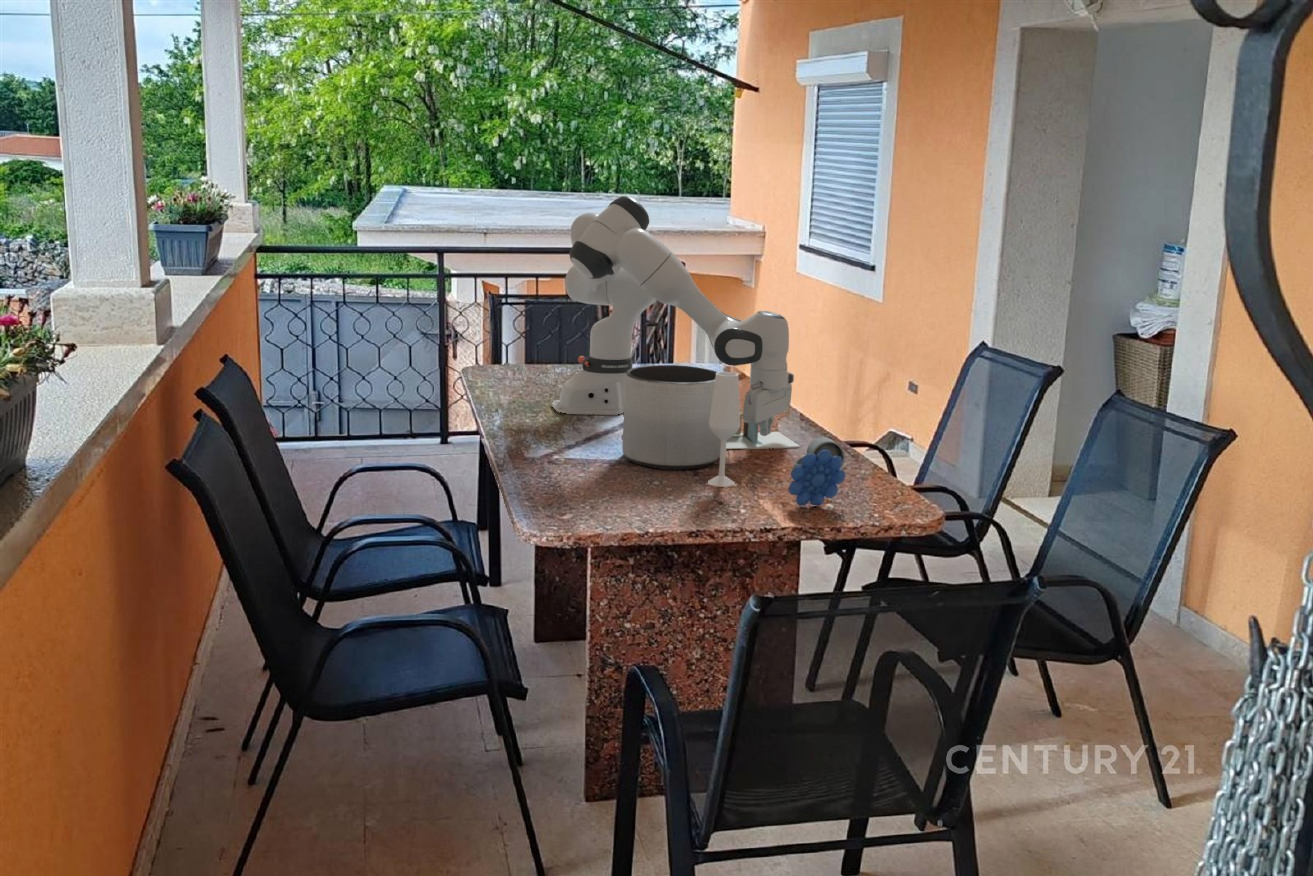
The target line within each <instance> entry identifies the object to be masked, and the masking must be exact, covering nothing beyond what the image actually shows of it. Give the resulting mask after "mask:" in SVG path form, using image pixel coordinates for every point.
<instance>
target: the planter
mask: <svg viewBox="0 0 1313 876" xmlns="http://www.w3.org/2000/svg"><path fill="white" fill-rule="evenodd" d="M718 372H719V371H715V370H713V369H709V368H704V367H697V366H690V365H673V364H671V365H670V364H664V365H663V364H658V365H657V364H655V365H644V366H636V367H632V369H629V370H628V371H626V380H625V404H624V413H623V424H622V425H623V426H622V446H621V447H622V453H623V455H624V456H625V458H627V459H628V460H629V461H631V462H632V463H634V464H637V465H640V466H642V467H643V466H644V467H648V468H652V467H655V468H654V469H660V468H661V469H663V470H693V469H694V470H695V469H699V468H704V467H707V466H709V465H712V464H713V463H716V461H718V460H719V459H720V447H721V440H720V439H719V438H717V436H716V435H715V434H714V433H713V432H712V431H711V429H710V427H709V418H710V411H711V404H712V397H713V390H714V383H715V376H716V373H718Z"/></svg>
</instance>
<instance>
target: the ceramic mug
mask: <svg viewBox="0 0 1313 876" xmlns="http://www.w3.org/2000/svg"><path fill="white" fill-rule="evenodd" d="M822 450H829V451H830V452H831V458H832V457H834V456H840V457H841V458H842V462H843V464H842V466H841V468H840V469H841V470H842V467H843V465H844V464H845V458H846V457H845V451H844V449H843V447H842V446H841V445H840V444H839V443H837V442H836V441H834V440H833V439H831V438H829V437H825V436H821V437H816V438H814V439H813V440H812V441H810V442H809V444H808V446H807V448H806V455H807V454H809V453H811V454H815V455H816V457H817V455H818V453H819V452H820V451H822ZM803 457H804V456H802V457H800V458H797V459H796V460H795V461H794V463H793V468H794V467H796V466H803V465H802V459H803Z"/></svg>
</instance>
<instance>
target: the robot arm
mask: <svg viewBox="0 0 1313 876" xmlns="http://www.w3.org/2000/svg"><path fill="white" fill-rule="evenodd" d="M649 217H650V216H649V214H648V211H647V210H646V209H645V207H644V206H643V205H642V203H640V202H639V201H638V200H636V199H635V198H633V197H631V196H628V195H626V196H625V195H621V196H618V197H617V198H615V200H613V201H611V202H610V203H609V204H608V206H607V207H606V208H605V209H604V210H603V211H602V212H600V213H599V214H597V213H595V212H586V213H583V214H581V215H578V216H577V217H576V218H575V219H574V221H573V222H572V224H571V227H570V240H571V249H570V250H569V255H568V256H569V259H570V262H571V263H572V266H571V267H570V268H569V270H568V271H567V272H566V275H565V279H564V287H565V291H566V293H567V295H568V296H569V298H570V299H571V300H572V301H576V302H578V303H581V304H582V303H583V304H587V305H597V306H610V307H612V309H611V310H612V311H611V314H610V315H609V316H606V317H604V318H602V319H600V320H598V321H596V322H595V323H593V325H592V327H591V329H590V333H589V334H590V335H589V355H588V356H587V357H585V356H584V355H580V356H579V357H578V358H577V360H578V363H579V364H581V366H582V367H581V368H582V369H581V370H580V371H579V372H577V373H576V374H575V375H573V376H572V377H571V378H569V379H568V380H567V381H565V382H564V383H563V385H562V387H561V391H560V397H559V399H557V400H556V399H555V400H554V401H552V403H551V408H552V407H553V408H554V409H555V410H556V411H555V410H554V409H553V408H552V409H553V410H554V411H555V412H557V413H560V412H562V413H561V414H563V413H566V415H593V414H594V415H595V416H596V415H598V416H601V415H602V416H619V415H618V414H620V415H622V414H623V413H622V412H624V404H625V380H626V371H628V370H629V369H632V368H633V358H632V356H631V355H632V354H631V353H632V342H633V340H632V339H633V333H634V327H635V325H636V322H637V320H638V319H639V317H640V316H641V315H642V313H643V312H644V311H645V310H647V309H648V308H649V307H651V306H652V305H653V304H654V303H655V302H656V301H658V302H659V303H661V304H664V305H668V306H669V305H670V306H673V307H676V308H678V309H679V310H681V311H682V312H684V313H685V314H686V315H687V316H688V317H689V318H690V319H691V320H693V322H694V323H696V324H697V325H698V326H699V328H701V329H702V330H703V332H705V334H706V335H707V336H708V339H709V341H710V346H712V348H713V352H714V353H715V356H716V357H717V359H718V360H719V361H720V362H721V363H723V364H724V365H727V366H732V367H737V366H742V365H749V364H750V374H749V386H750V389H749V390H747V392H746V393H745V396H744V402H743V409H742V410H743V411H742V414H743V416H742V420H743V423H744V422H746V423H752V424H757V423H759V425H758V427H759V432H760V435H762V436H767V435H769V434H771V432H772V427H773V424H774V421H775V416H778V415H780V414H782V413H784V412H786V411H788V410H790V407H791V400H792V391H793V388H792V387H793V385H792V384H793V383H794V380H795V375H794V373H791V372H789V371H788V362H787V355H788V353H789V349H790V348H789V347H790V346H789V345H790V340H789V339H790V331H789V330H790V329H789V323H788V321H787V319H786V318H785V317H784V316H783V315H781V314H779V313H776V312H773V311H768V310H759V311H757V312H756V313H754V314H753V315H751V316H750V317H748V318H746V319H743V320H741V319H739V318H735V317H733V316H730V315H728V314H726V313H724V312H723V311H721V310H720V309H719V308H718V307H717V306H716V304H714V303H713V302H712V301H711V300H710V299H709V298H708V297H707V296H706V295H704V294H703V292H702V291H701V290H700V289H699V288H698V286H697V284H696V283H695V281H694V280H693V277H692V275H691V274H690V272H689V271H688V269H687V268H686V266H685V264H683V262H682V261H681V260H680V259H679V258H678V257H677V256H676V254H675V253H674V252H673V251H672V250H671V249H669V248H668V247H667V245H665V244H664V243H662V242H661V241H660V240H659V239H658V238H656V237H655V236H653V234H651V233H649V232H648V231H646V230H647V228H648V226H649V224H650V218H649ZM621 413H622V414H621Z"/></svg>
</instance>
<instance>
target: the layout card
mask: <svg viewBox="0 0 1313 876" xmlns="http://www.w3.org/2000/svg"><path fill="white" fill-rule="evenodd" d="M769 448H770V449H771V450H772V448H774V449H800V448H801V446H800V445H799V444H797V443H796V442H794V441H793V440H791V439H790V438H788V437H786V436H785V435H784V434H782V433H780V432H779V431H771V434H769V435H767V436H762V435H760V431H758V439H757V444H754V443H753V442H752V441H751V440H750V438H749V437H746V436H743V432H741V435H733V436H732V437H731V438H730V439H728V440H726V449H741V450H770V449H769ZM774 449H773V450H774Z"/></svg>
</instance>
